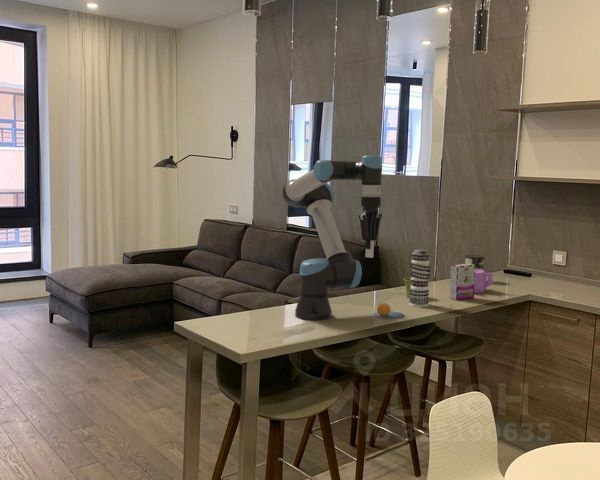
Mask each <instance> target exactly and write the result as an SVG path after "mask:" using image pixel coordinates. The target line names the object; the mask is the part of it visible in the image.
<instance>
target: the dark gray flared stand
mask: <svg viewBox="0 0 600 480" xmlns="http://www.w3.org/2000/svg"><path fill="white" fill-rule="evenodd" d="M484 262H485V256H483V255H477V254H466V255H464V264H473V265H475V270H483V271H484V266H485V265H484V264H485V263H484Z"/></svg>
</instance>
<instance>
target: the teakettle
mask: <svg viewBox="0 0 600 480" xmlns="http://www.w3.org/2000/svg"><path fill="white" fill-rule="evenodd" d="M448 273H449V275H450V276H451V270H450V271H448ZM493 284H494V282H493V273H491V272H490V273H489V272H486V270H484V269H483V270H475V279H474V294H480V295H481V294H483V293H485V291H486V290H487V288H488V287H490V286H492V285H493Z"/></svg>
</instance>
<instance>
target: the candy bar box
mask: <svg viewBox="0 0 600 480" xmlns="http://www.w3.org/2000/svg"><path fill="white" fill-rule="evenodd" d="M450 271H451V275H450V282H449V283H450V289H449V290H450V292H449V293H450V294H449V296H450V297H449V299H451V300H453V299H454V301H462V300H463V301H464V300H469V299H470V300H471V299H472V300H473V299H475V293H474V279H475V265H473V264H465V263H460V264H459V263H458V264H452V265H451V264H450Z"/></svg>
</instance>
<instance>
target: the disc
mask: <svg viewBox="0 0 600 480" xmlns="http://www.w3.org/2000/svg"><path fill="white" fill-rule="evenodd" d="M372 314H373V316H374V317H376V318H380V319H390V320H392V319H395V320H396V319H397V320H398V319H401V318H402V319H403V318H404V317H405V316H406V315H405V314H404V313H403V312H398V311H394V310H393V311H391V310H390V313H389V315H387V316H380V315H379V314H378V312H377V311H375V312H373V313H372Z"/></svg>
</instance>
